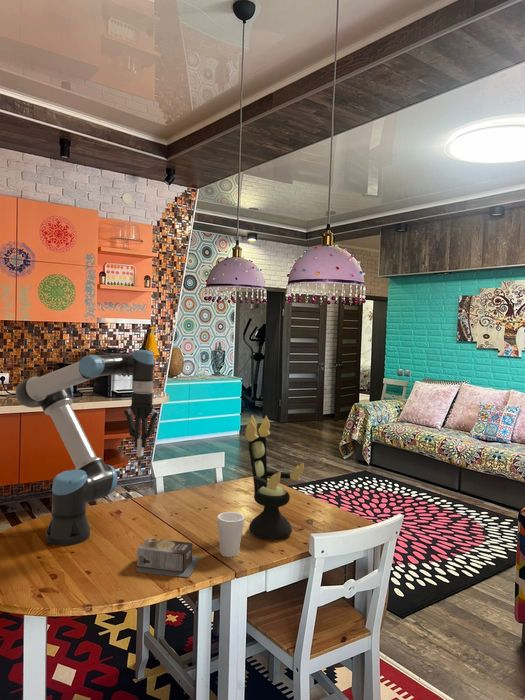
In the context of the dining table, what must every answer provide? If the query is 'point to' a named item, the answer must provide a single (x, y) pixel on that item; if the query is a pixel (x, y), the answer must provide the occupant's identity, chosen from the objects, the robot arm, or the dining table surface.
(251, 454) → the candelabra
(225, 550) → the foam cup
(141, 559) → the coffee box
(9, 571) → the dining table surface
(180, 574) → the mat
